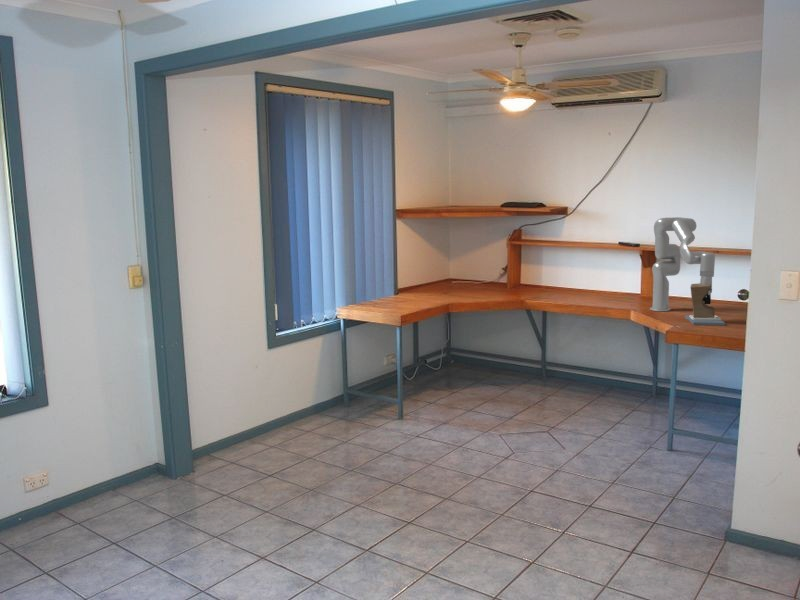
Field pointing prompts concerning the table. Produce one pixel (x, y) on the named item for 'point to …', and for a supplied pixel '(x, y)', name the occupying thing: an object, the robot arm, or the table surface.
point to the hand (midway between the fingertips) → (705, 302)
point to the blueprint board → (705, 320)
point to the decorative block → (701, 301)
